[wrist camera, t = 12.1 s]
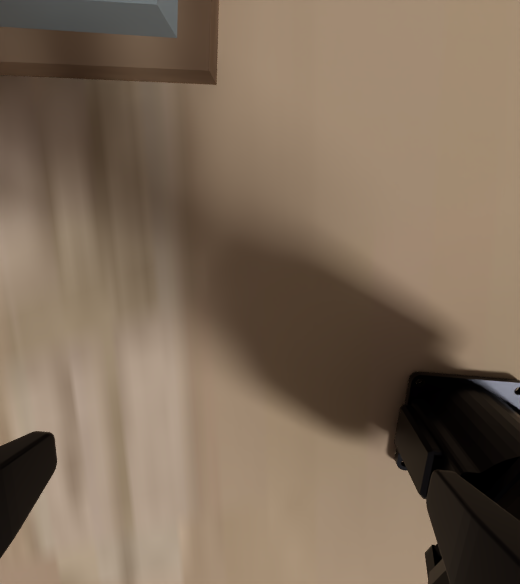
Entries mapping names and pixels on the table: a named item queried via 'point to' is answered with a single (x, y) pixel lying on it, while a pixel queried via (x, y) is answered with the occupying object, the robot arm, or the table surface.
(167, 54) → the walnut slab
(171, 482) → the table surface
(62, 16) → the grey slab
